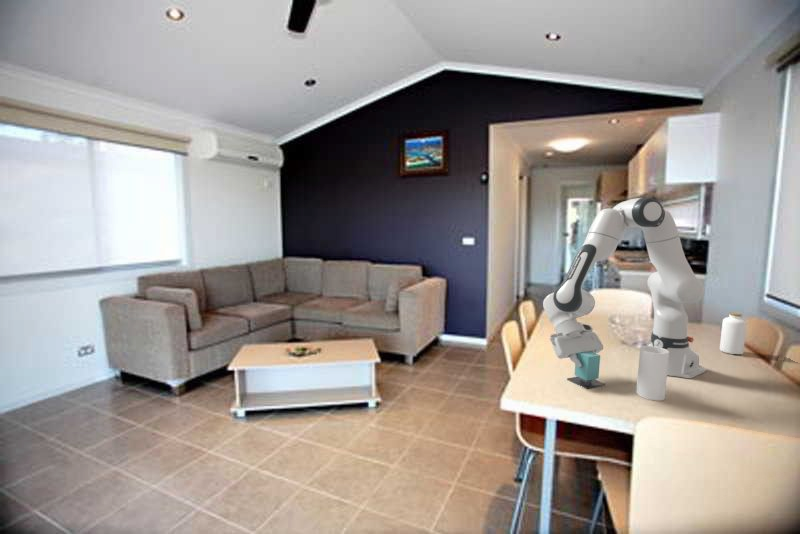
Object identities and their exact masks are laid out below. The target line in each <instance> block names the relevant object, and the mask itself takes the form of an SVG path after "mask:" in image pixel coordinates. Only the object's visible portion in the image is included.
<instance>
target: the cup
mask: <svg viewBox="0 0 800 534" xmlns="http://www.w3.org/2000/svg"><path fill="white" fill-rule="evenodd" d="M668 359H669V351H668V350H666V349H664V348H660V347H655V346H649V345H643V346H640V347H639V359H638V371H637V381H636V394H637V395H638V396H639V397H641V398H643V399H646V400H648V401H658V402H659V401H664V400H665V398H666V392H667V391H666V388H667V378H668V375H667V370H668Z"/></svg>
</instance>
